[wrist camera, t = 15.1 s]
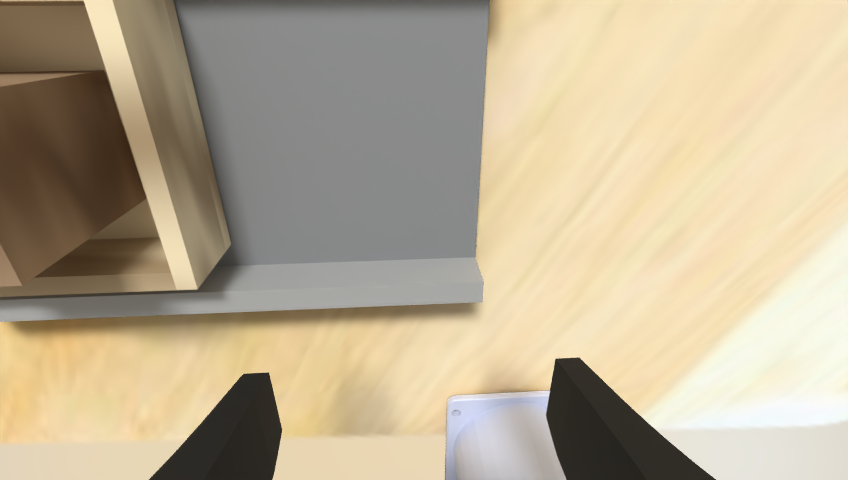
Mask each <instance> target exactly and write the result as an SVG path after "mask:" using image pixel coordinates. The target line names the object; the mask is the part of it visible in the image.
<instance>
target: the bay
mask: <svg viewBox="0 0 848 480" xmlns="http://www.w3.org/2000/svg"><path fill="white" fill-rule="evenodd" d="M173 1H174V6H175V10H176V14H177V18H178V22H179V27H180V31H181V35H182V39H183V43H184V48H185V52H186V56H187V60H188V64H189V69H190V73H191V77H192V81H193V85H194V90H195V94H196V98H197V102H198V106H199V111H200V115H201V119H202V123H203V127H204V131H205V136H206V140H207V144H208V148H209V152H210V157H211V161H212V165H213V169H214V173H215V178H216V182H217V186H218V190H219V194H220V199H221V203H222V207H223V211H224V215H225V220H226V224H227V228H228V232H229V236H230V241H231V245H230V247H229V248H228V249H227V251H226V252H225V253H224V255H223V256H222V257H221V259H220V260H219V261H218V263H217V264H216V265H215V267H214V268H213V269H212V271H211V272H210V273H209V275H208V276H207V277H206V279H205V280H204V282H203V283H202V284H201V286H200V287H199V288H198V289H195V290H169V291H142V292H116V293H90V294H63V295H37V296H11V297H0V322H10V321H34V320H59V319H83V318H108V317H132V316H156V315H181V314H205V313H230V312H254V311H279V310H303V309H327V308H352V307H376V306H401V305H425V304H449V303H474V302H482V299H483V284H484V281H483V278H482V275H481V272H480V269H479V267H478V264H477V261H476V258H475V253H476V235H477V217H478V199H479V181H480V163H481V145H482V127H483V109H484V92H485V74H486V56H487V38H488V20H489V2H490V0H173Z"/></svg>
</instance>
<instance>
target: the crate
mask: <svg viewBox="0 0 848 480" xmlns="http://www.w3.org/2000/svg"><path fill="white" fill-rule="evenodd" d="M88 70H104V71H105V74H106V77H107V80H108V83H109V86H110V89H111V92H112V95H113V98H114V101H115V104H116V107H117V110H118V113H119V116H120V119H121V122H122V125H123V128H124V131H125V134H126V137H127V140H128V143H129V147H130V150H131V153H132V156H133V159H134V162H135V165H136V168H137V171H138V174H139V177H140V180H141V183H142V186H143V189H144V192H145V195H146V198H147V199H145V200H144V201H142V202H141V203H139V204H138V205H137V206H135V207H134V208H132V209H131V210H129V211H128V212H127V213H125V214H124V215H122V216H121V217H119V218H118V219H117V220H115V221H114V222H112V223H111V224H109V225H108V226H107V227H105V228H104V229H102V230H101V231H100V232H98V233H97V234H95V235H94V236H92V237H91V238H90V239H88V240H87V241H85V242H84V243H82V244H81V245H80V246H78V247H77V248H75V249H74V250H72V251H71V252H70V253H68V254H67V255H65V256H64V257H62V258H61V259H60V260H58V261H57V262H55V263H54V264H53V265H51V266H50V267H48V268H47V269H45V270H44V271H43V272H41V273H40V274H38V275H37V276H35V277H34V278H33V279H31V280H30V281H28V282H27V283H25V284H24V285H23V286H4V287H0V297H11V296H37V295H63V294H90V293H116V292H142V291H169V290H195V289H198V288H199V287H200V286H201V284H202V283H203V282H204V280H205V279H206V277H207V276H208V275H209V273H210V272H211V271H212V269H213V268H214V267H215V265H216V264H217V263H218V261H219V260H220V259H221V257H222V256H223V255H224V253H225V252H226V251H227V249H228V248H229V247H230V245H231V241H230V236H229V232H228V228H227V224H226V220H225V215H224V211H223V207H222V203H221V199H220V194H219V190H218V186H217V182H216V178H215V173H214V169H213V165H212V161H211V157H210V152H209V148H208V144H207V140H206V136H205V131H204V127H203V123H202V119H201V115H200V111H199V106H198V102H197V98H196V94H195V90H194V85H193V81H192V77H191V73H190V69H189V64H188V60H187V56H186V52H185V48H184V43H183V39H182V35H181V31H180V27H179V22H178V18H177V14H176V10H175V6H174V1H173V0H0V72H35V71H88Z"/></svg>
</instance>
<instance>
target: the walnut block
mask: <svg viewBox="0 0 848 480" xmlns="http://www.w3.org/2000/svg"><path fill="white" fill-rule="evenodd" d="M145 199H147V198H146V195H145V192H144V189H143V186H142V183H141V180H140V177H139V174H138V171H137V168H136V165H135V162H134V159H133V156H132V153H131V150H130V147H129V143H128V140H127V137H126V134H125V131H124V128H123V125H122V122H121V119H120V116H119V113H118V110H117V107H116V104H115V101H114V98H113V95H112V92H111V89H110V86H109V83H108V80H107V77H106V74H105V71H104V70H88V71H35V72H0V287H4V286H23V285H24V284H25V283H27V282H28V281H30V280H31V279H33V278H34V277H35V276H37V275H38V274H40V273H41V272H43V271H44V270H45V269H47V268H48V267H50V266H51V265H53V264H54V263H55V262H57V261H58V260H60V259H61V258H62V257H64V256H65V255H67V254H68V253H70V252H71V251H72V250H74V249H75V248H77V247H78V246H80V245H81V244H82V243H84V242H85V241H87V240H88V239H90V238H91V237H92V236H94V235H95V234H97V233H98V232H100V231H101V230H102V229H104V228H105V227H107V226H108V225H109V224H111V223H112V222H114V221H115V220H117V219H118V218H119V217H121V216H122V215H124V214H125V213H127V212H128V211H129V210H131V209H132V208H134V207H135V206H137V205H138V204H139V203H141V202H142V201H144V200H145Z"/></svg>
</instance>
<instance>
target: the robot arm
mask: <svg viewBox="0 0 848 480" xmlns="http://www.w3.org/2000/svg"><path fill="white" fill-rule="evenodd" d="M454 410H457V411H454ZM281 433H282V428H281V423H280V419H279V415H278V410H277V406H276V401H275V397H274V393H273V388H272V384H271V380H270V375H269V373H251V374H243V375H242V376H241V377H240V378H239V379H238V381H237V382H236V383H235V384H234V385H233V386H232V388H231V389H230V390H229V391H228V392H227V394H226V395H225V396H224V397H223V398H222V399H221V401H220V402H219V403H218V404H217V405H216V407H215V408H214V409H213V410H212V411H211V412H210V414H209V415H208V416H207V417H206V418H205V419H204V420H203V422H202V423H201V424H200V425H199V426H198V427H197V428H196V430H195V431H194V432H193V433H192V434H191V435H190V436H189V437H188V438H187V440H186V441H185V442H184V443H183V444H182V445H181V446H180V448H179V449H178V450H177V451H176V452H175V453H174V454H173V455H172V456H171V457H170V458H169V459H168V460H167V462H165V464H164V465H163V466H162V467H161V468H160V469H159V470H158V471H157V472H156V473H155V474H154V475H153V476H152V477H151V478H150V479H149V480H272V478H273V475H274V471H275V465H276V460H277V456H278V450H279V445H280V439H281ZM445 480H716V479H714V478H713V477H712V476H710V475H709V474H708V473H707V472H705V471H704V470H703V469H702V468H700V467H699V466H698V465H696V464H695V463H694V462H693V461H692V460H690V459H689V458H688V457H687V456H685V455H684V454H683V453H682V452H681V451H680V450H678V449H677V448H676V447H675V446H674V445H672V444H671V443H670V442H669V441H668V440H667V439H665V438H664V437H663V436H662V435H661V434H660V433H659V432H657V431H656V430H655V429H654V428H653V427H652V426H651V425H650V424H648V423H647V422H646V421H645V420H644V419H643V418H642V417H641V416H640V415H639V414H637V413H636V412H635V411H634V410H633V409H632V408H631V407H630V406H629V405H628V404H627V403H626V402H625V401H624V400H622V399H621V398H620V397H619V396H618V395H617V394H616V393H615V392H614V391H613V390H612V389H611V388H610V387H609V386H608V385H607V384H606V383H605V382H604V381H603V380H602V379H601V378H600V377H599V376H598V375H597V374H596V373H595V372H593V371H592V370H591V369H590V368H589V367H588V366H587V365H586V364H585V363H584V362H583V361H582V360H581V359H580V358H562V359H556V360H555V366H554V371H553V377H552V383H551V388H550V390H549V391H530V392H511V393H491V394H472V395H455V396H452V397H450V398H449V399H448V400H447V420H446V459H445Z"/></svg>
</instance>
